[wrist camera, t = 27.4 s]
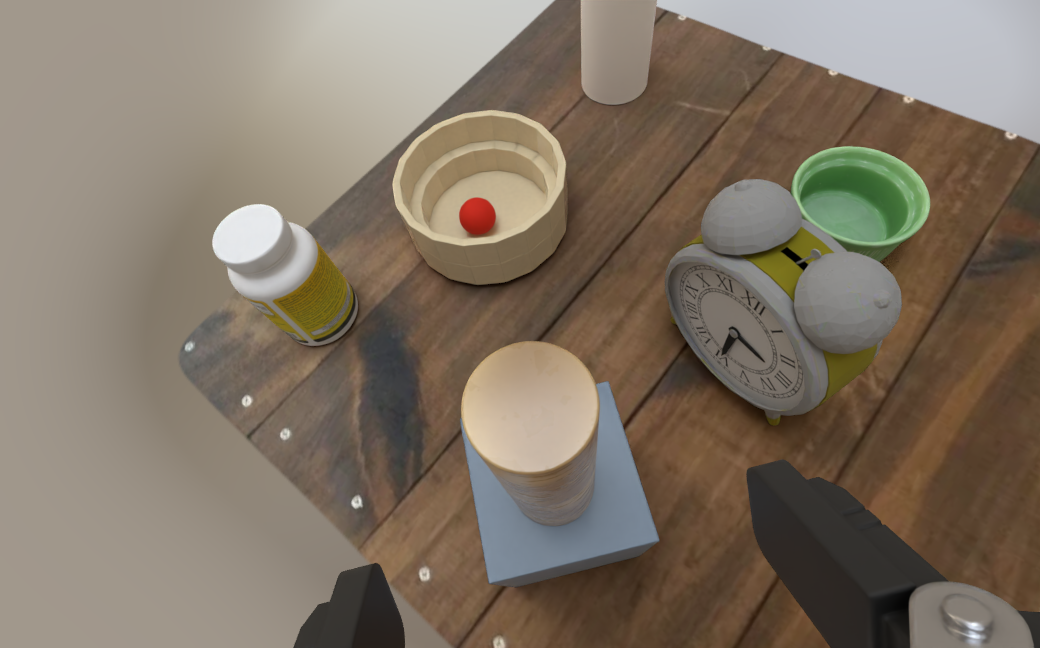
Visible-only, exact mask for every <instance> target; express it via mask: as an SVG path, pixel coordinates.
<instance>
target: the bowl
mask: <svg viewBox="0 0 1040 648" xmlns="http://www.w3.org/2000/svg"><path fill="white" fill-rule="evenodd" d="M393 191H394V198H395V205H396V208H397V210H398V212H399V214H400V216H401V218H402V220H403V222H404V224H405V226H406V228H407V230H408V232H409V234H410V236H411V239H412V241H413V243H414V245H415V247H416V248H417V250H418V251H419V253H420V254H421V256H422V257H423V259H424V260H425V262H426V263H427V264H428V265H429V266H430V267H431V268H433V269H435V270H436V271H438V272H439V273H441V274H442V275H444V276H446V277H447V278H449V279H452V280H456V281H461V282H466V283H470V284H475V285H482V284H493V283H503V282H507V281H510V280H512V279H514V278H517V277H519V276H522V275H524V274H526V273H529V272H531V271H532V270H534V269H535V268H536V267H537V266H539V265H540V264H541V263H542V262H543V261H545V260H546V259H547V258H548V257H549V256H550V255H552V254H553V253H554V251H555V250H556V248H557V246H558V244H559V242H560V241H561V239H562V237H563V235H564V234H565V232H566V226H567V217H568V191H567V169H566V161H565V158H564V156H563V153H562V150H561V147H560V144H559V142H558V141H557V140H556V139H555V138H554V137H553V136H552V135H551V134H550V133H549V132H548V130H547V129H546V128H545V127H544V126H543V125H541V124H539V123H537V122H535V121H533V120H531V119H529V118H526V117H524V116H522V115H520V114H516V113H509V112H502V111H494V110H492V111H491V110H488V111H480V112H472V113H464V114H461V115H458V116H456V117H453V118H450V119H448V120H445V121H443V122H440V123H438V124H436V125H434V126H433V127H431V128H430V129H429V130H427V131H426V132H424V133H423V134H422V135H420V136H419V137H418V138H416V139H415V140H414V141H413V143H412V144H411V145H410V146H409V148H408V149H407V150H406V152H405V153H404V154H403V156H402V157H401V158H400V160H399V162H398V166H397V169H396V172H395V176H394V179H393ZM475 197H479V198H483V199H486V200H487V201H489V202H490V203H491V204H492V206H493V207H494V209H495V213H496V220H495V223H494V226H493V227H492V228H491V230H489V231H488V232H487V233H485V234H481V235H474V234H471V233H469V232H467V231H466V230H465V229H464V228H463V227H462V225H461V223H460V220H459V212H460V209H461V206H462V205H463V204H464V203H465V202H466V201H467V200H469V199H471V198H475Z"/></svg>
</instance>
